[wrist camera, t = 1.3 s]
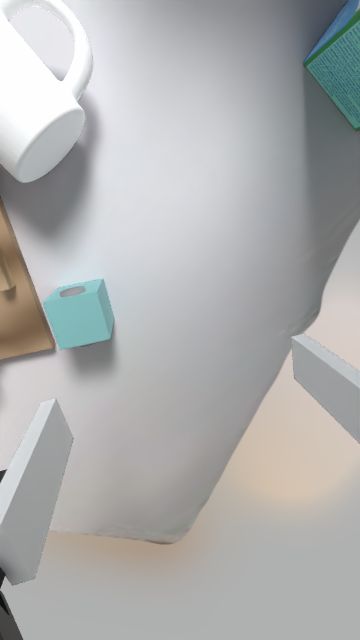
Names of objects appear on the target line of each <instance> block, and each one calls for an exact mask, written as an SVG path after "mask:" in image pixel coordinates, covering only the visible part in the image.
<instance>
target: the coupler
mask: <svg viewBox="0 0 360 640" xmlns="http://www.w3.org/2000/svg"><path fill="white" fill-rule="evenodd" d="M43 305H44V308H45V310H46V313H47V316H48V319H49V321H50V324H51V327H52V329H53V332H54V335H55V338H56V340H57V343H58V346H59V348H60V350H63V349H67V348H72V347H76V346H81V347H83V346H88V345H92V344H94V343H96V342H99V341H104V340H109V339H110V338H111V334H112V329H113V324H114V315H113V312H112V308H111V305H110V301H109V297H108V294H107V290H106V287H105V283H104V279H98V280H93V281H88V282H83V283H78V284H73V285H68V286H63V287H59V288H58V289H57V290H55V291H54V292H53V293H52V294H51V295H50V296H49V297H48V298H47V299H46V300H45V301H44V302H43Z"/></svg>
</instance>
